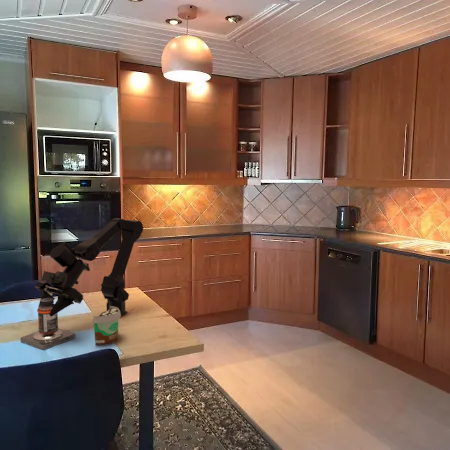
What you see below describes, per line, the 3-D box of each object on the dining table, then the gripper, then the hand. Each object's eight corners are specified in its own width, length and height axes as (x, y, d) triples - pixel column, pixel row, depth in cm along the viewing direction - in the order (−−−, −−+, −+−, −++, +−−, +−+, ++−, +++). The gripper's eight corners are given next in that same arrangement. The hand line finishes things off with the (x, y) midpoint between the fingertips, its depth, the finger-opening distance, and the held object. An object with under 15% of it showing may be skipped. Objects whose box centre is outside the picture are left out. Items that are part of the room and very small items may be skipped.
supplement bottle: (37, 331, 138) (35, 298, 136) (56, 327, 141) (54, 295, 140) (40, 336, 133) (38, 303, 131) (59, 333, 136) (58, 300, 135)
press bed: (52, 330, 145) (52, 325, 145) (75, 337, 139) (75, 332, 139) (20, 341, 135) (20, 336, 135) (43, 350, 129) (43, 344, 129)
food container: (110, 348, 131) (110, 318, 130) (93, 346, 132) (92, 316, 131) (127, 334, 143) (127, 306, 142) (111, 332, 144) (110, 305, 143)
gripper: (38, 258, 142) (9, 297, 134) (74, 264, 133) (46, 306, 125) (58, 275, 150) (32, 313, 142) (94, 283, 140) (68, 323, 132)
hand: (44, 314), depth 135 cm, fingers closed on supplement bottle, 6 cm apart
